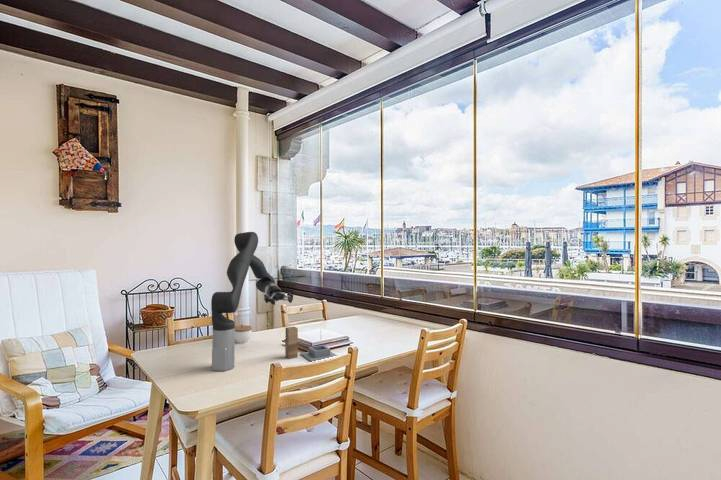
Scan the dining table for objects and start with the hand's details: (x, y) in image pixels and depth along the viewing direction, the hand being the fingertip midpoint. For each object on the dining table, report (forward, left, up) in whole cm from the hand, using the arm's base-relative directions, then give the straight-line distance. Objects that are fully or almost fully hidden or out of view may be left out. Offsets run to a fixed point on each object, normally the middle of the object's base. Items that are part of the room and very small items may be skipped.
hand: (282, 301), depth 195 cm
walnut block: (-7, -7, -25) cm, 27 cm away
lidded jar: (+16, +28, -25) cm, 41 cm away
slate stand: (-4, -20, -25) cm, 32 cm away
